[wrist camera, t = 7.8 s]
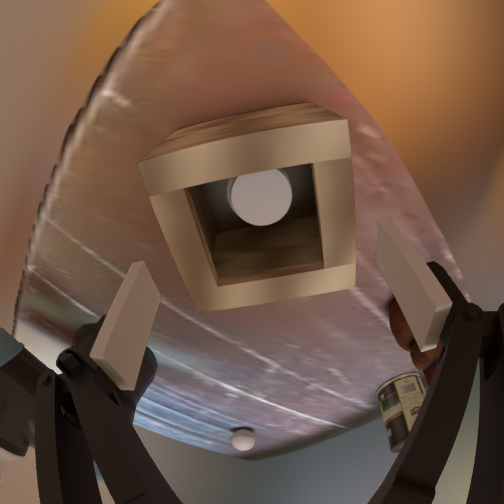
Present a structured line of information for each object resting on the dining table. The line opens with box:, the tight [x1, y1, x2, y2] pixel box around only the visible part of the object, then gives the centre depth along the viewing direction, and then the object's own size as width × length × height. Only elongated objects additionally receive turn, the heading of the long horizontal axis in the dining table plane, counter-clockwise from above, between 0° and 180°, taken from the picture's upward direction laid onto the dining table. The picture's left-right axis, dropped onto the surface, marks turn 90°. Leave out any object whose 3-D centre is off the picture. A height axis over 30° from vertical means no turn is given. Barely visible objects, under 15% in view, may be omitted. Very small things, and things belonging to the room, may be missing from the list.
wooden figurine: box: [389, 299, 443, 385], centre depth 31 cm, size 7×6×15 cm
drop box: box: [137, 102, 356, 313], centre depth 23 cm, size 12×12×11 cm
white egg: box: [229, 429, 255, 451], centre depth 58 cm, size 8×6×6 cm
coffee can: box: [376, 372, 426, 453], centre depth 45 cm, size 10×10×14 cm
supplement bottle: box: [226, 168, 292, 226], centre depth 22 cm, size 5×5×8 cm
